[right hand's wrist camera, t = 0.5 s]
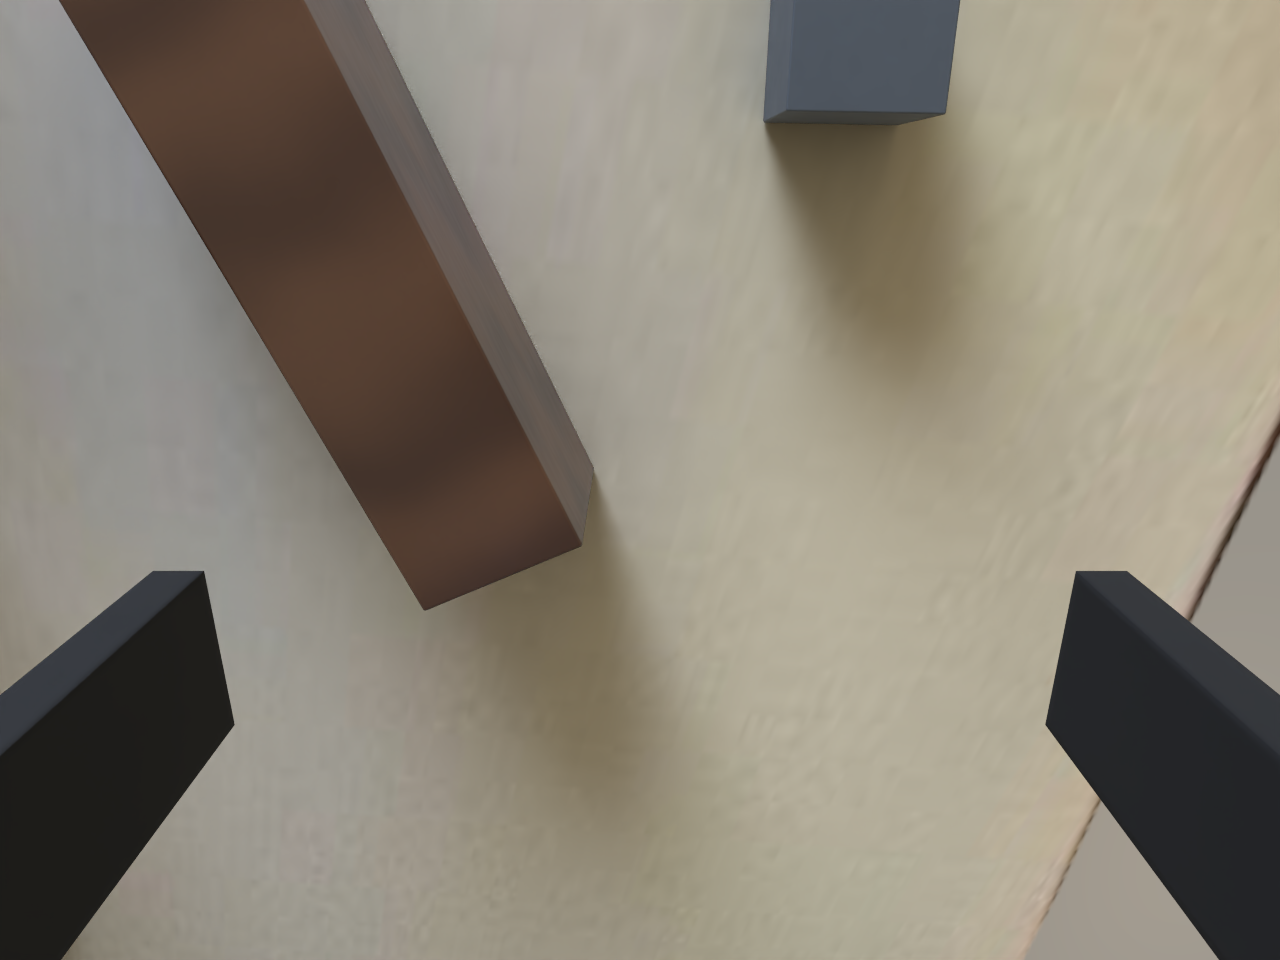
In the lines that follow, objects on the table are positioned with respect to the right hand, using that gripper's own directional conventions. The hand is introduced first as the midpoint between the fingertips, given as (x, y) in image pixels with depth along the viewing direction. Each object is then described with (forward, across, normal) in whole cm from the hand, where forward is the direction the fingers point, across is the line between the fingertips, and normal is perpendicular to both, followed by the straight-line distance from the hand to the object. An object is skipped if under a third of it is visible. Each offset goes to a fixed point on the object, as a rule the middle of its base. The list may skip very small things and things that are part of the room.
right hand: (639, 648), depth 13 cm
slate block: (+22, -7, -11) cm, 26 cm away
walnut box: (+22, +10, -6) cm, 25 cm away
